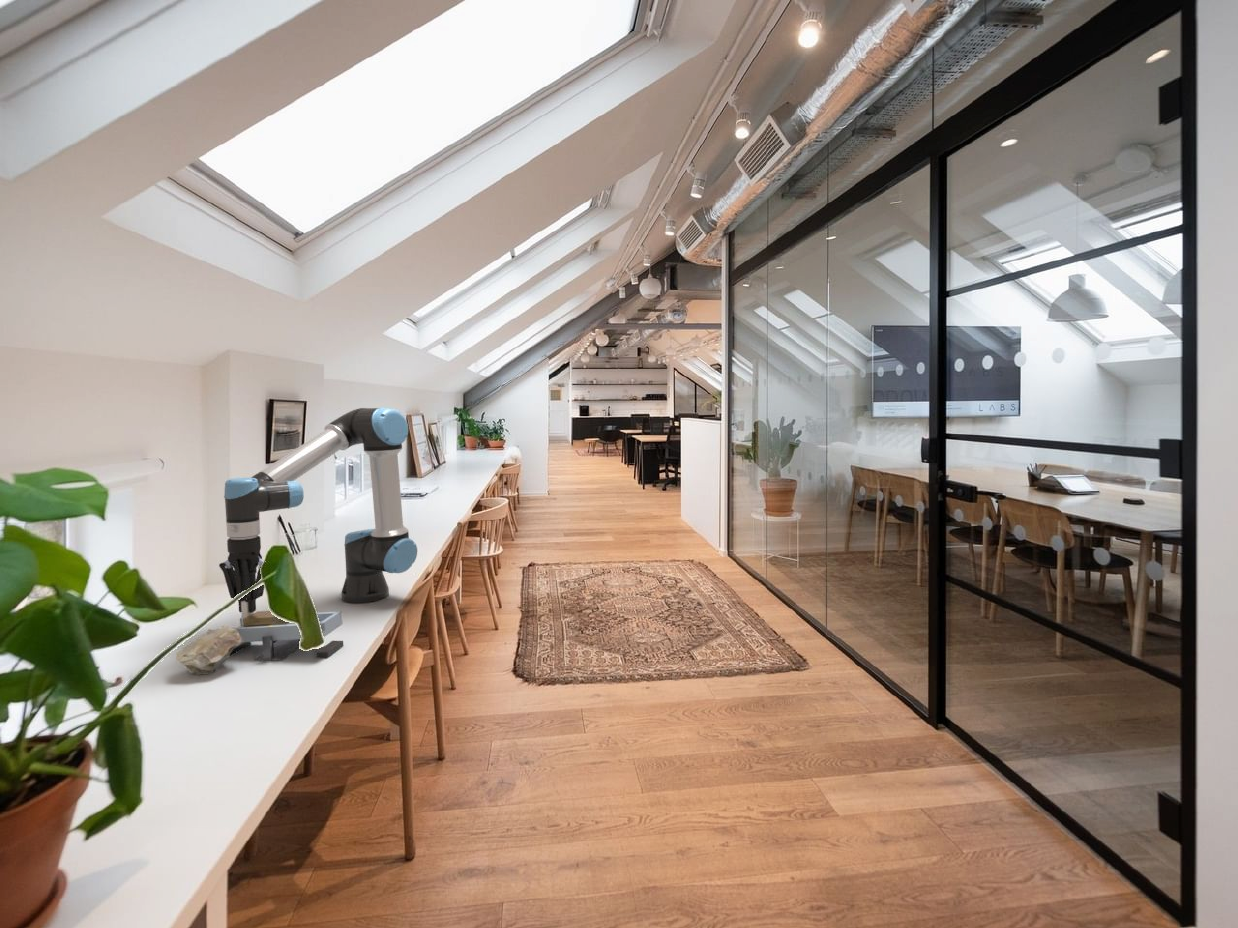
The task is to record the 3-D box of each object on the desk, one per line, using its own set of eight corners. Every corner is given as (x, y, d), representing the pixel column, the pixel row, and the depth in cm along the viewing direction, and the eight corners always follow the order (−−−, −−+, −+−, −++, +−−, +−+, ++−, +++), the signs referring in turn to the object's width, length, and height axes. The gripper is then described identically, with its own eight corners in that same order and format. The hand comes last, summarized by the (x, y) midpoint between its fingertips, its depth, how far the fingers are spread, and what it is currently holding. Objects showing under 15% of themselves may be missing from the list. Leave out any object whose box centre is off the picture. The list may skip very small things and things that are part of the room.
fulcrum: (246, 640, 172) (245, 617, 172) (348, 642, 171) (347, 619, 170) (212, 659, 159) (211, 635, 158) (322, 662, 157) (321, 637, 157)
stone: (231, 679, 147) (229, 639, 146) (165, 684, 145) (162, 642, 144) (250, 661, 158) (248, 623, 157) (188, 665, 155) (186, 626, 155)
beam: (246, 628, 171) (244, 615, 171) (344, 623, 169) (342, 610, 169) (216, 644, 159) (214, 630, 159) (321, 638, 158) (319, 624, 157)
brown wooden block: (259, 625, 168) (257, 611, 167) (287, 624, 167) (285, 609, 167) (244, 633, 162) (242, 618, 161) (274, 632, 161) (272, 617, 161)
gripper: (209, 539, 159) (214, 628, 161) (258, 540, 158) (262, 629, 161) (229, 533, 167) (234, 618, 169) (276, 534, 166) (280, 619, 168)
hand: (248, 623), depth 165 cm, fingers closed
